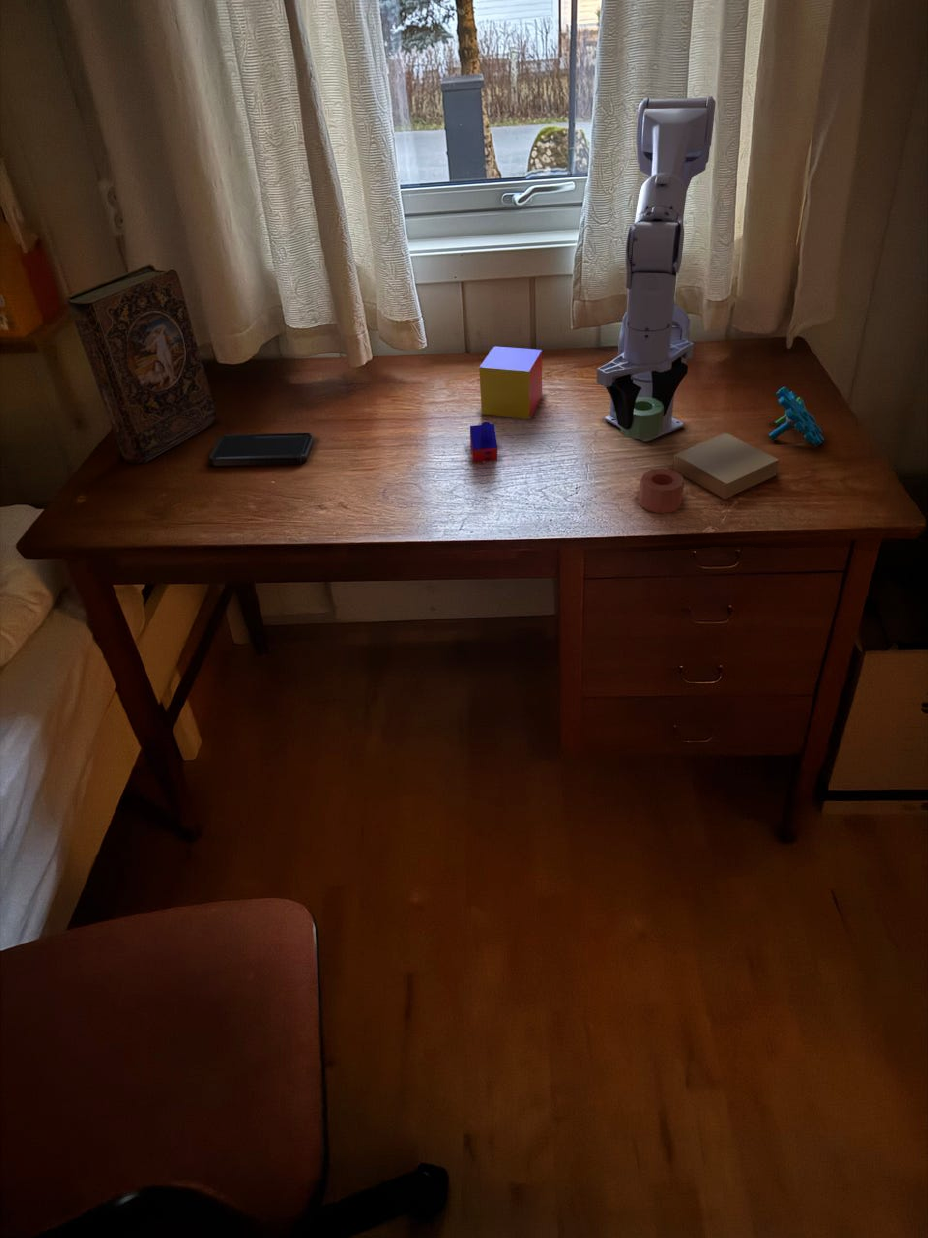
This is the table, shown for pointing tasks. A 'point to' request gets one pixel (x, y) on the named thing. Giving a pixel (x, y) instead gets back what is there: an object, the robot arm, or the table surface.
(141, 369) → the book
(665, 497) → the coral ring
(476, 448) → the toy building block
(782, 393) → the gear
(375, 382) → the table surface
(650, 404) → the green ring
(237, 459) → the phone
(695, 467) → the birch block
